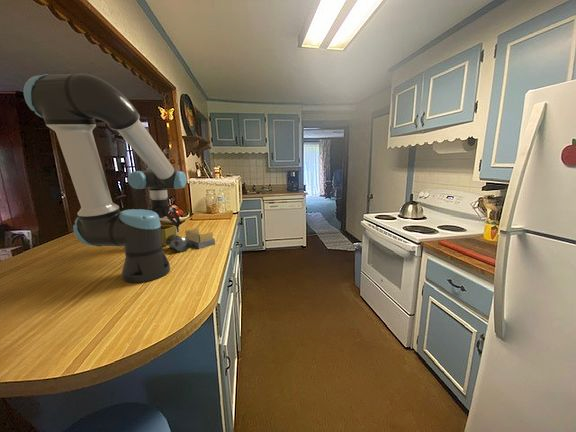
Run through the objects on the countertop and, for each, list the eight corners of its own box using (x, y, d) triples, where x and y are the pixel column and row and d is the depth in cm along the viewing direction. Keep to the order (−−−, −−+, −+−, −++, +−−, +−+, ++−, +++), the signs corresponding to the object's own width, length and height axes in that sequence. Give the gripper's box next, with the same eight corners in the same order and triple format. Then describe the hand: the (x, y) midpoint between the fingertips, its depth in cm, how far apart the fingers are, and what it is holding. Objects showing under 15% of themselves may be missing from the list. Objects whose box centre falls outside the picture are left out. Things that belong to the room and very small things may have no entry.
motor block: (215, 244, 119) (214, 232, 118) (179, 254, 105) (177, 240, 104) (200, 239, 128) (199, 227, 127) (165, 248, 114) (163, 235, 113)
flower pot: (162, 241, 124) (160, 225, 122) (177, 242, 123) (175, 225, 121) (150, 246, 116) (148, 229, 114) (166, 247, 114) (164, 229, 113)
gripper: (179, 196, 126) (183, 234, 130) (128, 200, 108) (134, 245, 112) (186, 197, 121) (190, 237, 126) (134, 202, 103) (140, 248, 107)
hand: (163, 241), depth 119 cm, fingers closed on flower pot, 12 cm apart
